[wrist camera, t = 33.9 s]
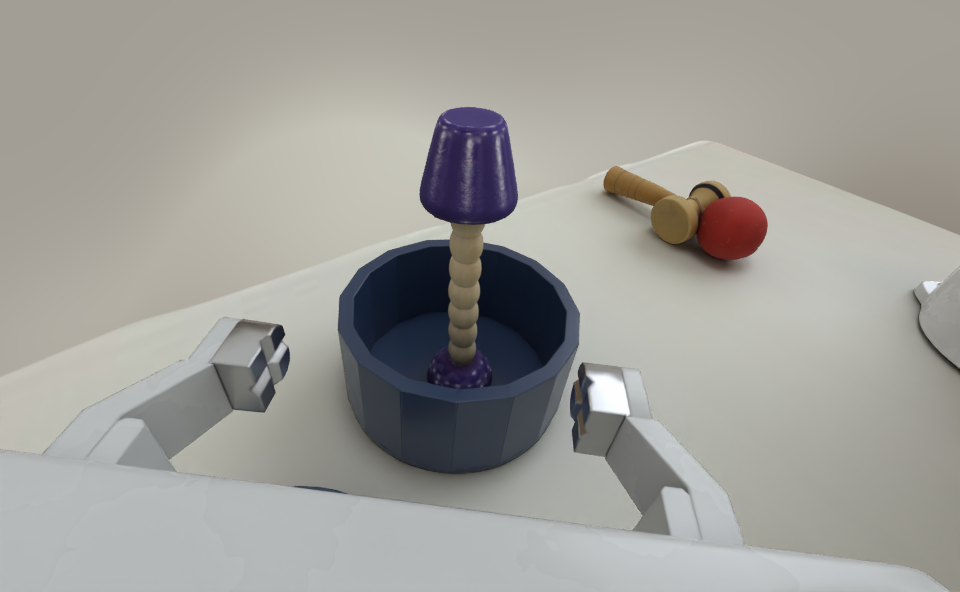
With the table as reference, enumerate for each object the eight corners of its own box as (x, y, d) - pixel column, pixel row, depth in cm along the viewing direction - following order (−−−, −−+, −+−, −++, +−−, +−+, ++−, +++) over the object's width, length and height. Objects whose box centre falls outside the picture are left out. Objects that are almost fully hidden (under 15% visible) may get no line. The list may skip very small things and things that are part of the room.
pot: (525, 304, 37) (539, 236, 33) (587, 456, 27) (619, 385, 22) (351, 315, 34) (342, 242, 30) (347, 490, 24) (332, 416, 20)
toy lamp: (419, 405, 28) (422, 134, 17) (417, 349, 31) (418, 95, 21) (496, 401, 28) (545, 139, 18) (486, 347, 32) (521, 101, 21)
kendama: (580, 209, 53) (726, 274, 40) (595, 153, 50) (757, 206, 38) (622, 206, 57) (764, 265, 45) (638, 155, 54) (795, 203, 42)
